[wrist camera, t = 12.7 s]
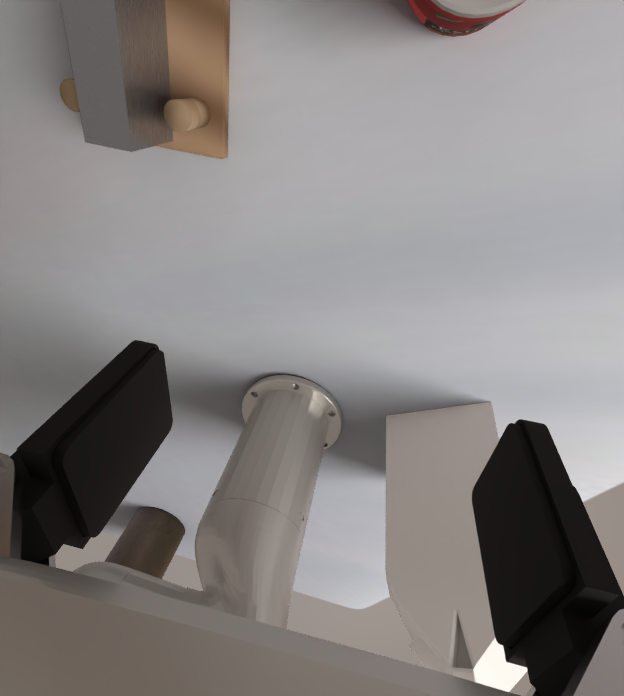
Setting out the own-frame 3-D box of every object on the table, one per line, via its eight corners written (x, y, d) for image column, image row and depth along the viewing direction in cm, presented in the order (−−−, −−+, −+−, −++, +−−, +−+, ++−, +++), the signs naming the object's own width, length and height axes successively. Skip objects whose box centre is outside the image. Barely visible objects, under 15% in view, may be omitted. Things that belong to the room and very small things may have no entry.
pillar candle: (185, 516, 68) (137, 610, 56) (184, 544, 74) (140, 634, 62) (134, 499, 69) (74, 588, 57) (137, 527, 75) (83, 614, 62)
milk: (504, 474, 47) (582, 787, 27) (410, 481, 52) (412, 757, 31) (491, 401, 42) (576, 725, 21) (386, 415, 46) (368, 698, 25)
